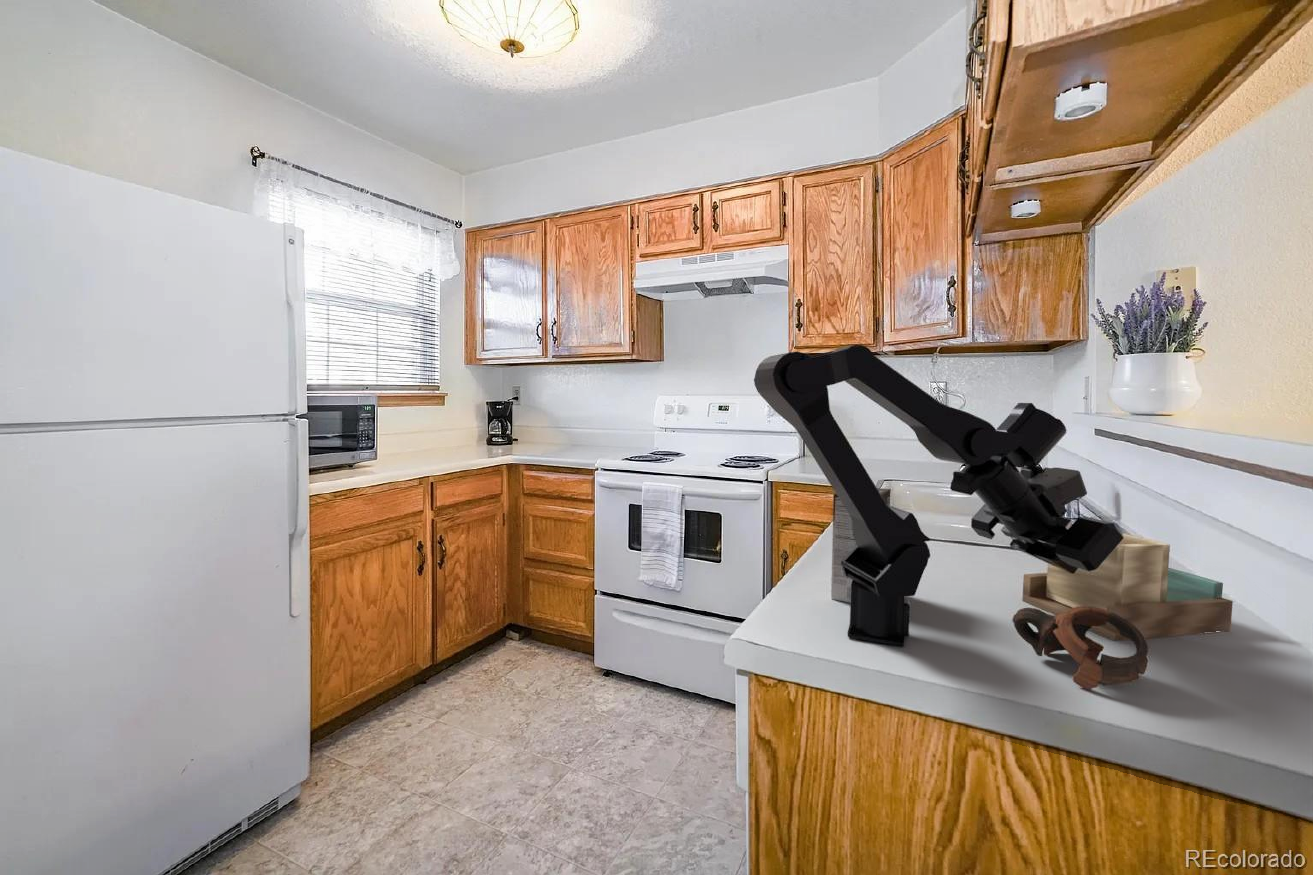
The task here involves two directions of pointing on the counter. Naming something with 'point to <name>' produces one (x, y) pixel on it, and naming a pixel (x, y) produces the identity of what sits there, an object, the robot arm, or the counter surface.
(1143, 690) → the counter surface
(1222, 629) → the bay
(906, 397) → the robot arm
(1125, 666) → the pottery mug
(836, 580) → the coffee box
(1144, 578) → the crate
